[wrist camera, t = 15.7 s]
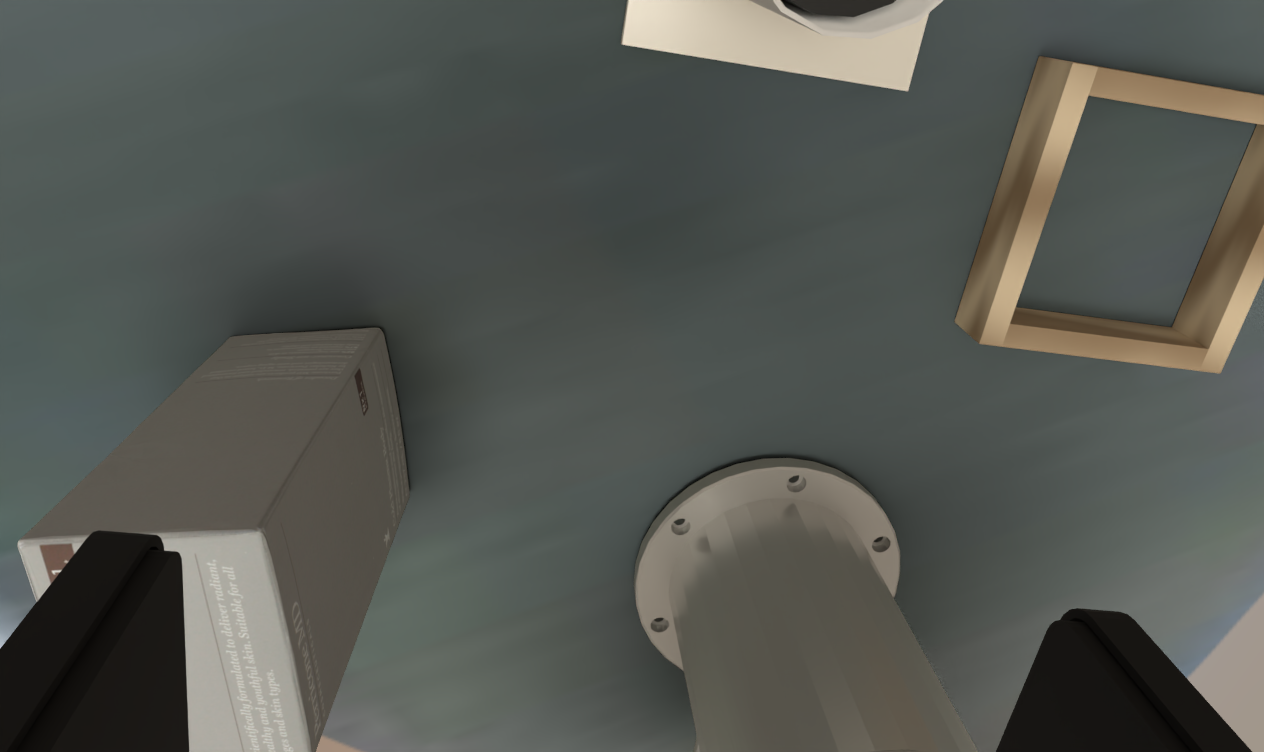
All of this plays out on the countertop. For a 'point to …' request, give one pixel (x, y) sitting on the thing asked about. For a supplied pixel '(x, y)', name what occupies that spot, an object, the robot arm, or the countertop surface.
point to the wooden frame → (1224, 279)
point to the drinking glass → (851, 15)
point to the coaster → (770, 41)
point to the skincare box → (258, 524)
